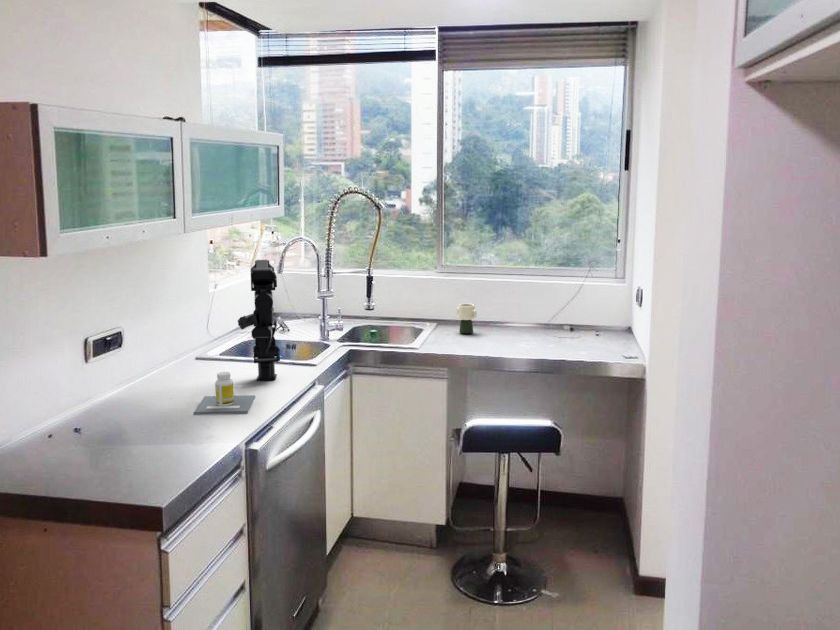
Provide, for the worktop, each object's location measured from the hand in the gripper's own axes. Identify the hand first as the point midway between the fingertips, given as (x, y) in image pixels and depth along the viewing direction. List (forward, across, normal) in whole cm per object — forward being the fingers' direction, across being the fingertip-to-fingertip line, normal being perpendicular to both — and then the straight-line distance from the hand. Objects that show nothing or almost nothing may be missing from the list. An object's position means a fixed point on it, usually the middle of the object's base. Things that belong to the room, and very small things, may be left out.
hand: (265, 352), depth 254 cm
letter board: (+13, +16, -11) cm, 23 cm away
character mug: (+13, -83, +78) cm, 115 cm away
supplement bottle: (+12, +17, -11) cm, 24 cm away
